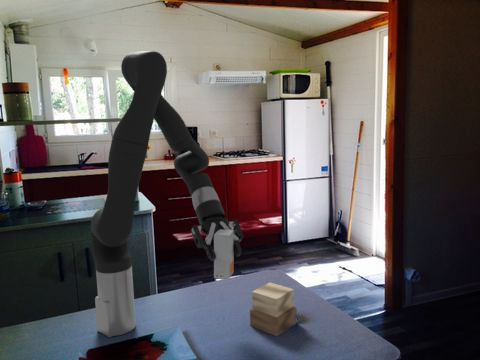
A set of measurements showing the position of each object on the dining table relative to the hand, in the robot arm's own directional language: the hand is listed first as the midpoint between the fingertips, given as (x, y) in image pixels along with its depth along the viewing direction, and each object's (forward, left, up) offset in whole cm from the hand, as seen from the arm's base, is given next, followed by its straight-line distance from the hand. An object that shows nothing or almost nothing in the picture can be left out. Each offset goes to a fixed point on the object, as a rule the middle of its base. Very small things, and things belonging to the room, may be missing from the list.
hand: (226, 257), depth 109 cm
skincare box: (0, +2, -6) cm, 6 cm away
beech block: (+9, -9, -15) cm, 19 cm away
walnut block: (+9, -9, -20) cm, 23 cm away
